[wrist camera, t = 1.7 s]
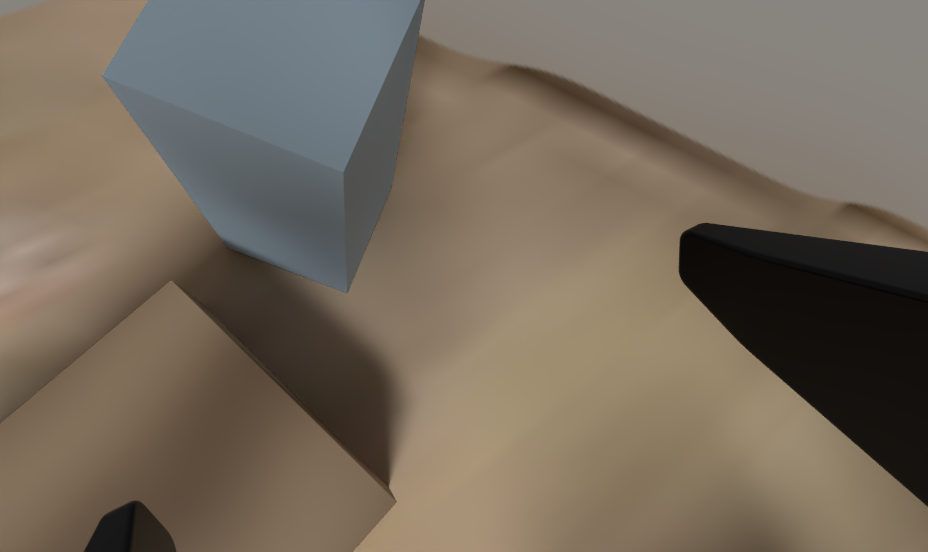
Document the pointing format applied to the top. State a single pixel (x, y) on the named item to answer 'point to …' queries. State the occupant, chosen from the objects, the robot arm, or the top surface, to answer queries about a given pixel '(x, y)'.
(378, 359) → the top surface
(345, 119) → the pillar
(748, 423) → the top surface
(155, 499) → the base block
